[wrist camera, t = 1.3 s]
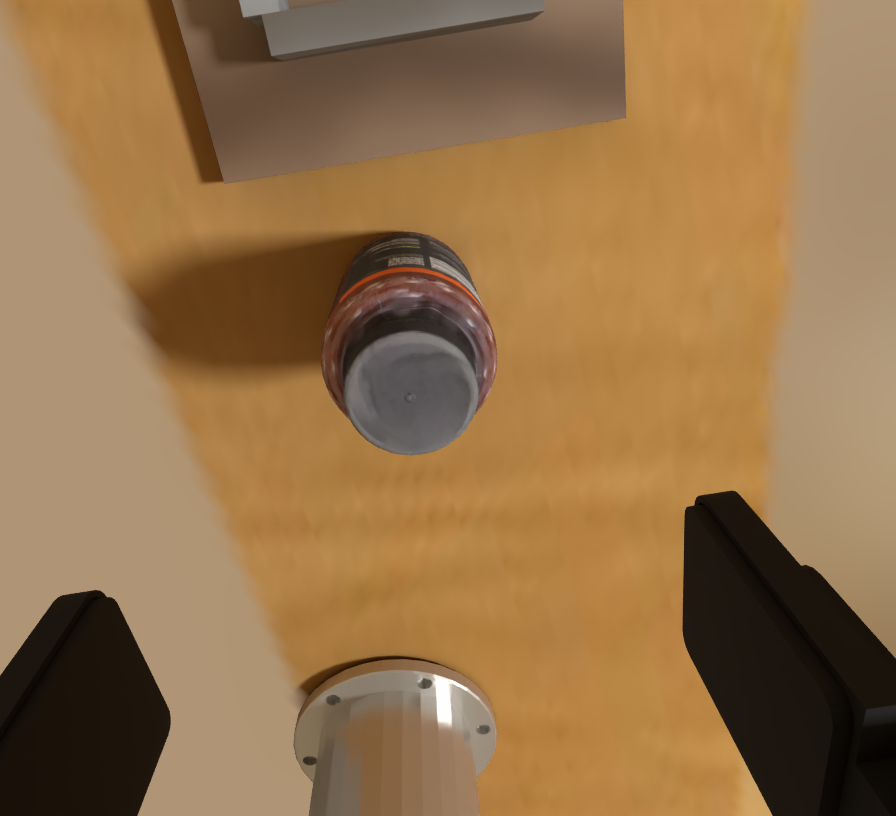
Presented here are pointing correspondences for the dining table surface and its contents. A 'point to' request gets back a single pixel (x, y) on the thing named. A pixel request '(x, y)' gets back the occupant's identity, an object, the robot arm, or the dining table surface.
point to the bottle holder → (394, 75)
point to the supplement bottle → (408, 345)
